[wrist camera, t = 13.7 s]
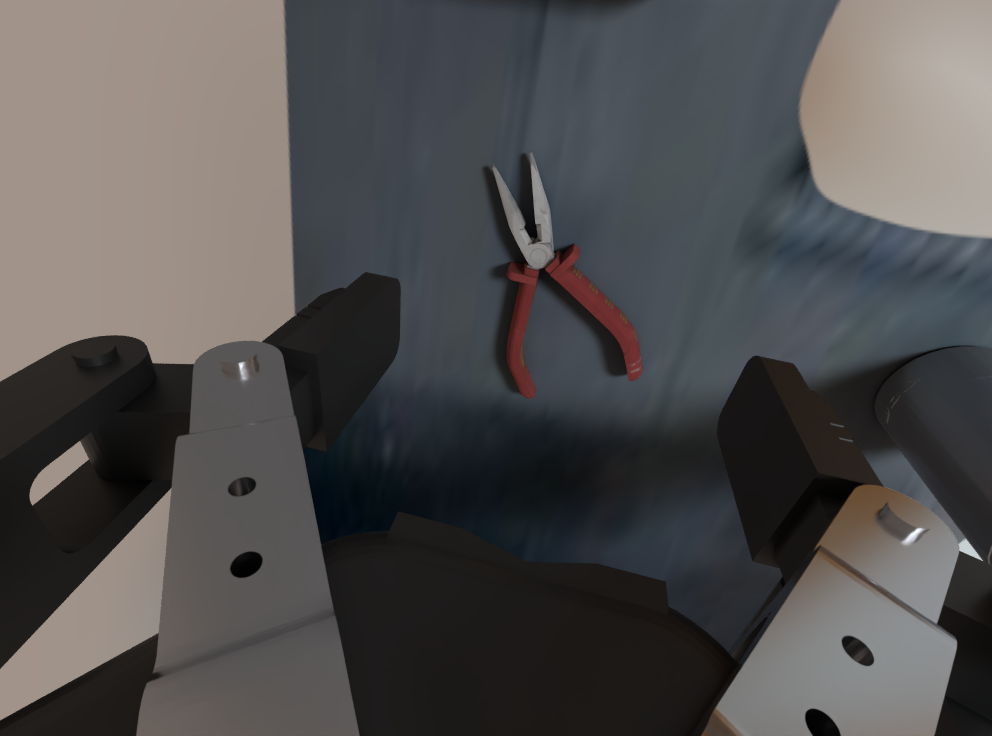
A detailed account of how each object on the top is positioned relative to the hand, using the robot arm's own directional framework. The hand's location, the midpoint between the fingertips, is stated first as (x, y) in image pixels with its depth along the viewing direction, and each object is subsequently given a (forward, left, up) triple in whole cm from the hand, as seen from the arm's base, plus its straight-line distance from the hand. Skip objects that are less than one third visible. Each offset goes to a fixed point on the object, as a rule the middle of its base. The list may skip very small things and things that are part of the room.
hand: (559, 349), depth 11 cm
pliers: (-1, +10, -27) cm, 29 cm away
